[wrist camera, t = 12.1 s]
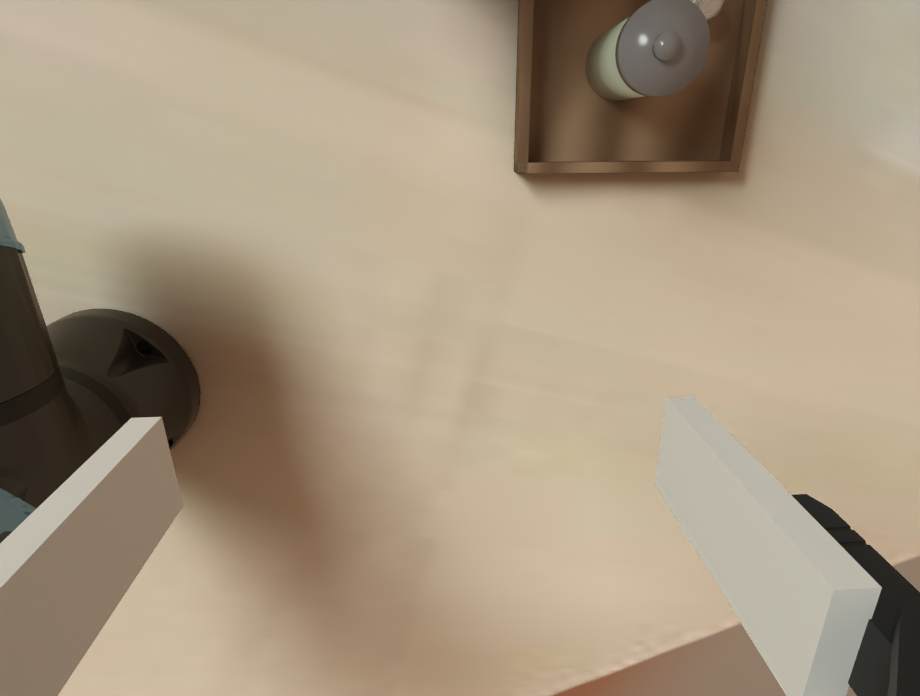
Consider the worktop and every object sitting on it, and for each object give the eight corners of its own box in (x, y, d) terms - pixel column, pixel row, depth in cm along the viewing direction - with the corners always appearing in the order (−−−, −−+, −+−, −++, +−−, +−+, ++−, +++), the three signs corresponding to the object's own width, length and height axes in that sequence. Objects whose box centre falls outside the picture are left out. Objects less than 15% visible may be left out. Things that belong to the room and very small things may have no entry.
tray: (513, 171, 47) (517, 173, 45) (520, -56, 41) (524, -67, 39) (724, 169, 48) (738, 171, 45) (759, -55, 42) (778, -66, 39)
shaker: (580, 102, 45) (619, 95, 35) (586, 24, 43) (629, -8, 33) (648, 103, 45) (706, 95, 35) (657, 25, 43) (721, -7, 33)
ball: (662, 32, 43) (681, 24, 40) (668, -22, 42) (688, -36, 39) (708, 32, 43) (730, 24, 40) (715, -22, 42) (739, -35, 39)
